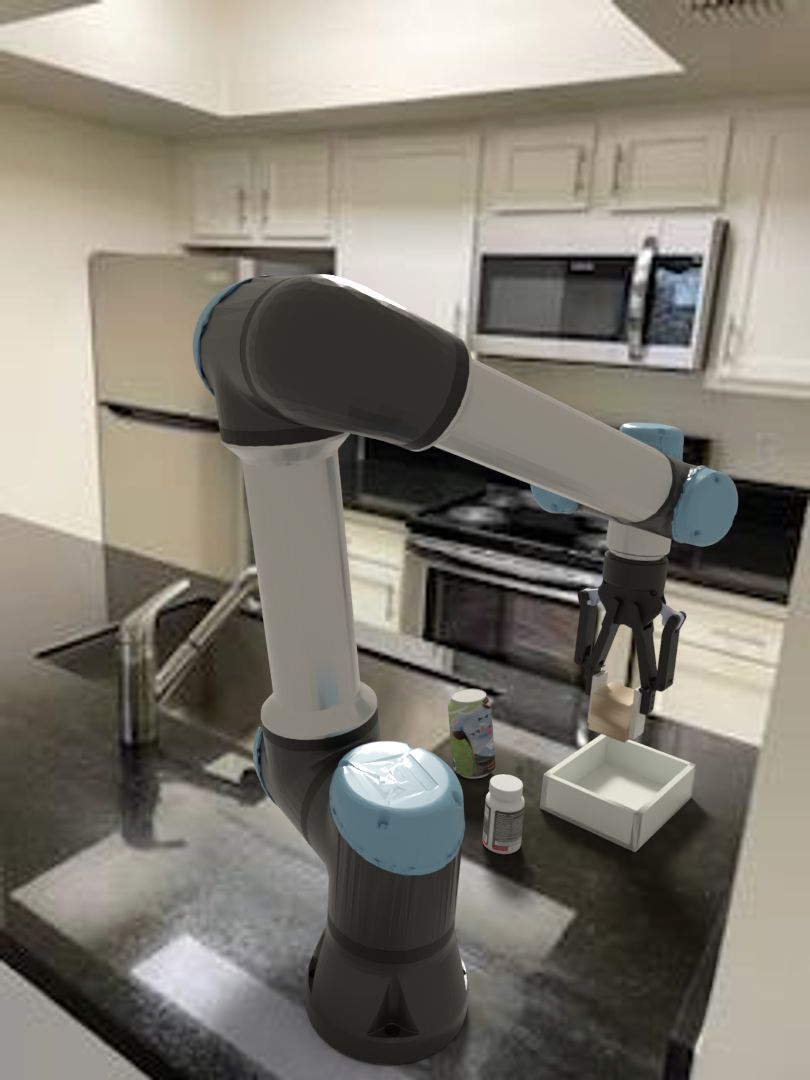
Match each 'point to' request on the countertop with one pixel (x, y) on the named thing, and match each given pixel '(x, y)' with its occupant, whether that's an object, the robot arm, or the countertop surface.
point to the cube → (612, 711)
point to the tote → (618, 789)
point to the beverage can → (471, 733)
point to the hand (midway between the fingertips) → (615, 727)
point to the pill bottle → (504, 814)
